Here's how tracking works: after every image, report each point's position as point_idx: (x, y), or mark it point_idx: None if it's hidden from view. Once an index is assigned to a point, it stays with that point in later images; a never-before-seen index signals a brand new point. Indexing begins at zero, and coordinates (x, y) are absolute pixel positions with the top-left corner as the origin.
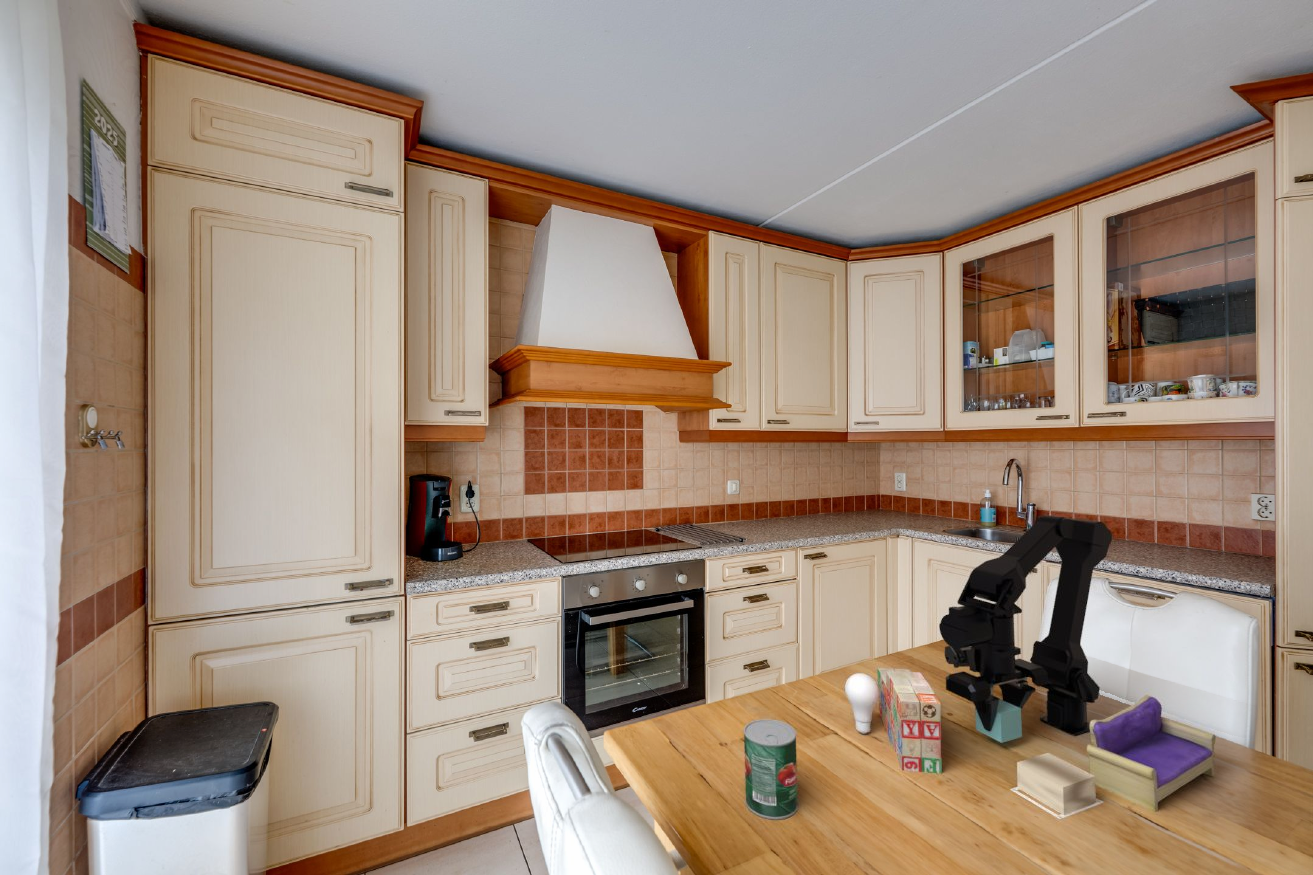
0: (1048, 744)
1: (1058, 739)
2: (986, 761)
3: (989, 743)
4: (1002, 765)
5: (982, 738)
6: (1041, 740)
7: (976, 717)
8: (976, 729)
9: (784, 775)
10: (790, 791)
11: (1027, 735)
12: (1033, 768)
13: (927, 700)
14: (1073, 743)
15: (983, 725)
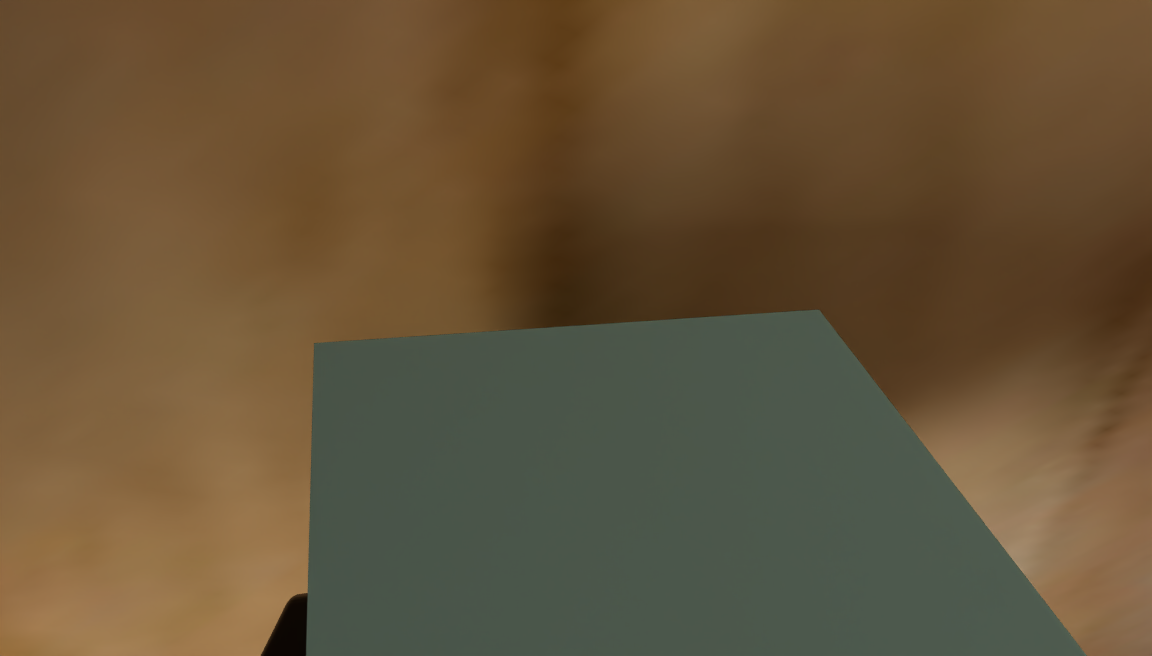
0: (981, 486)
1: (1147, 450)
2: (47, 578)
3: (461, 315)
4: (181, 647)
5: (496, 188)
6: (1021, 426)
7: (311, 550)
8: (319, 350)
9: None
10: None
11: (1041, 321)
12: None
13: None
14: (1145, 517)
15: (269, 652)
